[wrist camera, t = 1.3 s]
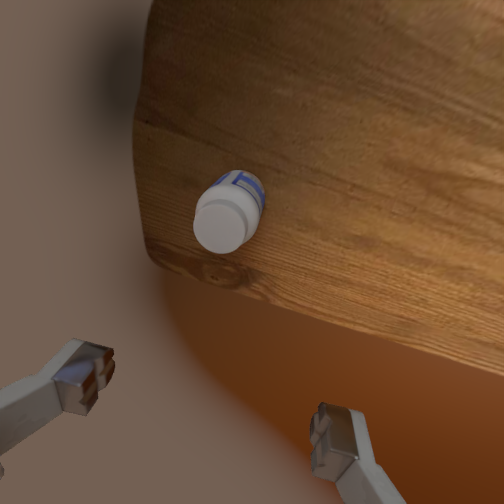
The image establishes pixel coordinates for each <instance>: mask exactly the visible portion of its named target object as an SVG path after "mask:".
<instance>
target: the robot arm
mask: <svg viewBox="0 0 504 504" xmlns="http://www.w3.org/2000/svg"><path fill="white" fill-rule="evenodd" d="M113 355H114V350H113V348H109V347H105V346H102V345H98V344H94V343H90V342H87V341H83V340H79V339H75V338H73V339H72V340H70V341H68V342H67V343H66V344H65V345H64V346H63V347H62V348H61V349H60V350H59V351H58V352H57V354H55V356H54V357H53V358H52V359H51V360H50V361H49V362H48V363H47V364H46V365H45V366H44V367H43V368H42V369H41V370H40V371H39V372H38V373H37V374H36V375H29V376H27V377H25V378H23V379H21V380H18V381H17V382H14V383H12V384H10V385H8V386H6V387H4V388H2V389H0V456H1V455H2V454H4V453H5V452H7V451H8V450H9V449H11V448H12V447H14V446H15V445H17V444H18V443H20V442H21V441H22V440H24V439H25V438H27V437H28V436H30V435H31V434H33V433H34V432H35V431H37V430H38V429H40V428H41V427H43V426H44V425H46V424H47V423H48V422H50V421H51V420H53V419H54V418H56V417H57V416H59V415H60V414H61V413H63V411H65V412H69V413H74V414H78V415H82V416H87V414H88V413H89V411H90V410H91V408H92V407H93V405H94V404H95V402H96V401H97V399H98V391H100V390H102V389H103V388H105V387H106V386H107V384H108V383H109V381H110V380H111V378H112V375H113V373H114V369H115V361H114V360H113V359H112V357H113ZM310 441H311V443H312V444H313V446H314V450H313V451H312V453H311V469H312V476H315V477H318V478H322V479H325V480H328V481H332V482H335V485H336V487H337V489H338V491H339V493H340V496H341V498H342V500H343V502H344V504H406V502H405V501H404V499H403V498H402V496H401V495H400V493H399V492H398V491H397V489H396V488H395V486H394V485H393V484H392V482H391V480H390V479H389V478H388V476H387V475H386V473H385V472H384V470H383V469H382V468H381V466H380V465H377V464H376V463H375V459H374V454H373V450H372V447H371V442H370V438H369V434H368V430H367V425H366V421H365V417H364V415H363V413H362V412H360V411H356V410H352V409H348V408H345V407H341V406H337V405H333V404H329V403H324V402H321V403H320V404H319V406H318V412H316V413H314V414H313V416H312V418H311V423H310ZM3 475H4V468H3V466H2V465H1V463H0V479H1V478H2V477H3Z"/></svg>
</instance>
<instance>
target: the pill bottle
mask: <svg viewBox="0 0 504 504" xmlns="http://www.w3.org/2000/svg"><path fill="white" fill-rule="evenodd" d="M264 202H265V191H264V187H263V185H262V183H261V181H260V180H259V179H258V178H257V177H256V176H255V175H253V174H252V173H250V172H247V171H243V170H234V171H230V172H228V173H226V174H224V175H223V176H221V177H220V178H219V179H218V180H217V181H216V182H215V183H214V184H213V185H212V186H211V187H210V188H209V189H207V190H206V191H205V192H204V193H203V195H202V196H201V197H200V199H199V201H198V203H197V206H196V212H195V219H194V223H193V230H194V234H195V236H196V238H197V240H198V241H199V243H200V244H201V245H202V246H203V247H204V248H206V249H207V250H209V251H212V252H215V253H220V254H225V253H230V252H232V251H234V250H236V249H237V248H238V247H240V245H241V244H243V243H245V242H247V241H248V240H249V239H250V238H251V237H252V236H253V235H254V233H255V231H256V229H257V227H258V224H259V220H260V217H261V213H262V210H263V206H264Z"/></svg>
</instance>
